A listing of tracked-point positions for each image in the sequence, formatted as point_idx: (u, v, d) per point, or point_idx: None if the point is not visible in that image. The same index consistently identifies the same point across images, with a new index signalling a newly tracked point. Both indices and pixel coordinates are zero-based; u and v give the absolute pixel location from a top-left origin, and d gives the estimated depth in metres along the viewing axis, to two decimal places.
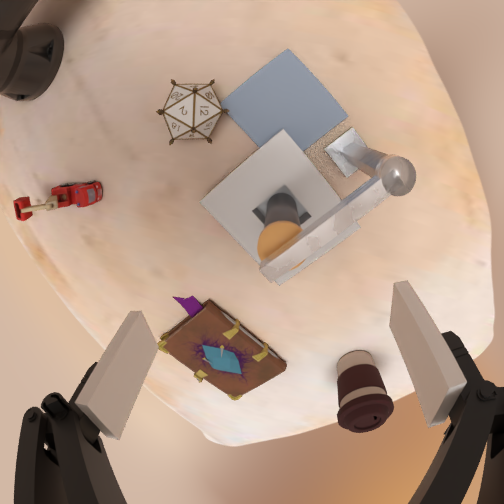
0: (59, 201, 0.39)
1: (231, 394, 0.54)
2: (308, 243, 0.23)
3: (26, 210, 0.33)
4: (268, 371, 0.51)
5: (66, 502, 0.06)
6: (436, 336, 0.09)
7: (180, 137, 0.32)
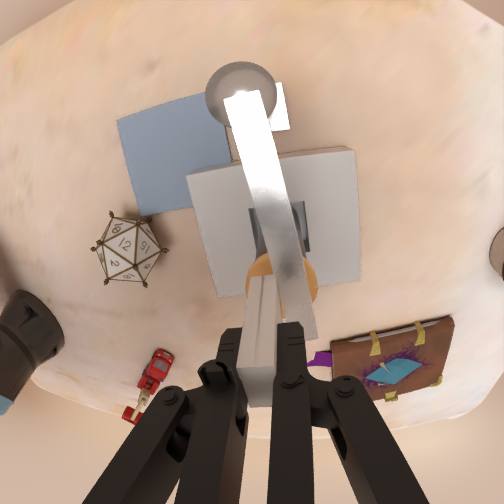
0: (150, 387, 0.43)
1: (432, 383, 0.39)
2: (287, 276, 0.15)
3: (133, 417, 0.39)
4: (441, 340, 0.35)
5: (161, 499, 0.07)
6: (269, 323, 0.12)
7: (144, 275, 0.31)
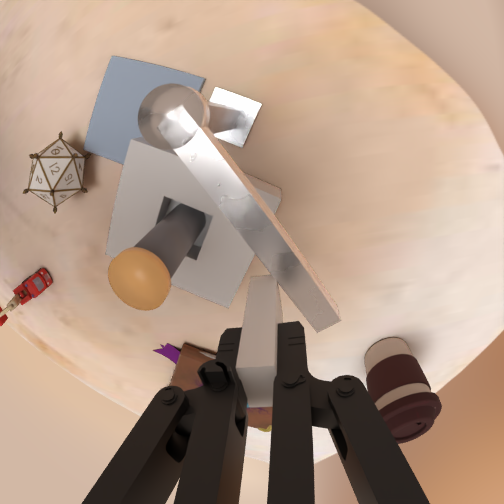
0: (23, 297, 0.38)
1: (261, 427, 0.46)
2: (283, 269, 0.15)
3: None
4: None
5: (160, 499, 0.07)
6: (269, 322, 0.12)
7: (57, 202, 0.28)
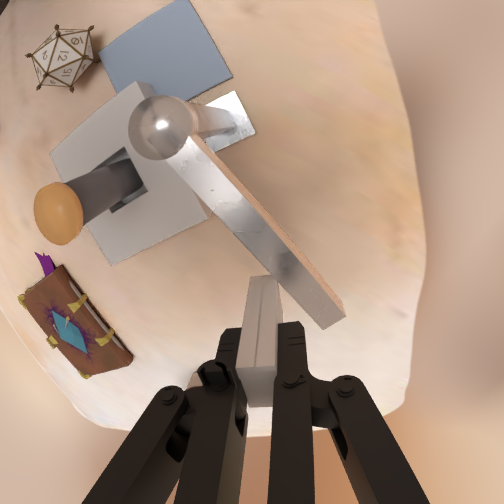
0: None
1: (81, 371, 0.45)
2: (282, 269, 0.15)
3: None
4: (111, 360, 0.42)
5: (160, 499, 0.07)
6: (269, 322, 0.12)
7: (44, 83, 0.21)
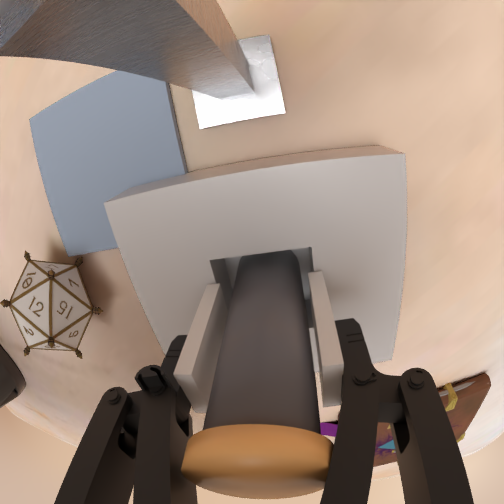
0: None
1: None
2: None
3: None
4: (473, 402, 0.23)
5: (123, 495, 0.07)
6: (328, 320, 0.11)
7: (73, 344, 0.19)
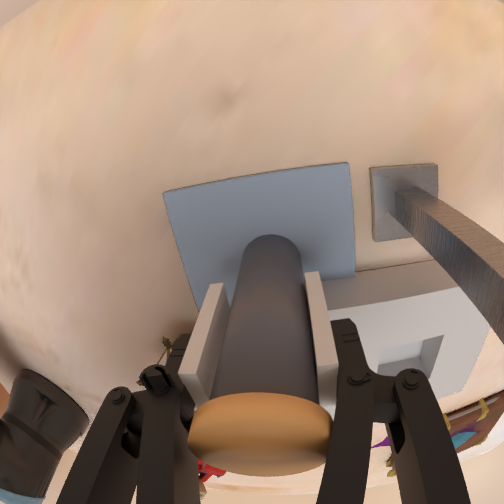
0: (202, 475, 0.33)
1: (477, 443, 0.30)
2: None
3: None
4: (497, 412, 0.26)
5: (126, 495, 0.07)
6: (323, 320, 0.11)
7: None
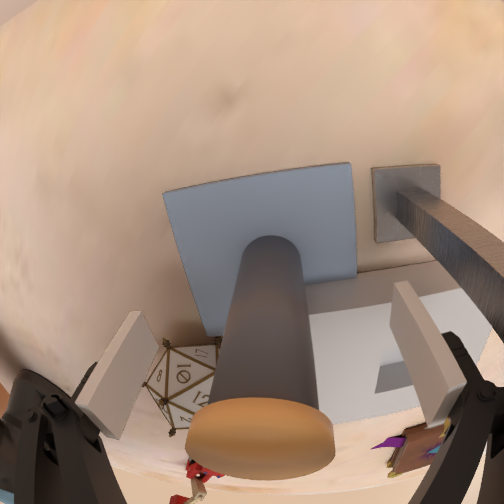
0: (202, 476, 0.33)
1: None
2: None
3: None
4: None
5: (66, 502, 0.06)
6: (436, 336, 0.09)
7: None
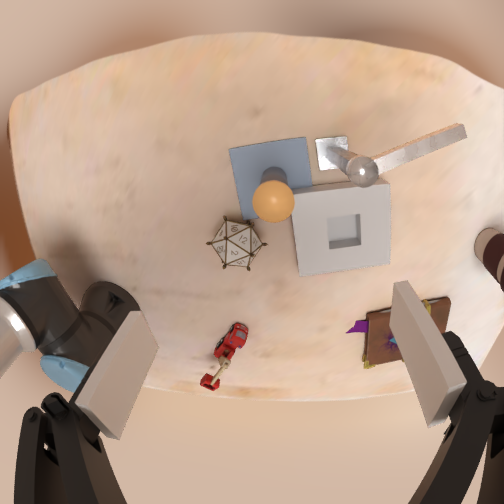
0: (226, 356, 0.58)
1: None
2: (436, 143, 0.24)
3: (214, 381, 0.54)
4: (442, 314, 0.51)
5: (66, 502, 0.06)
6: (436, 336, 0.09)
7: (250, 262, 0.46)
